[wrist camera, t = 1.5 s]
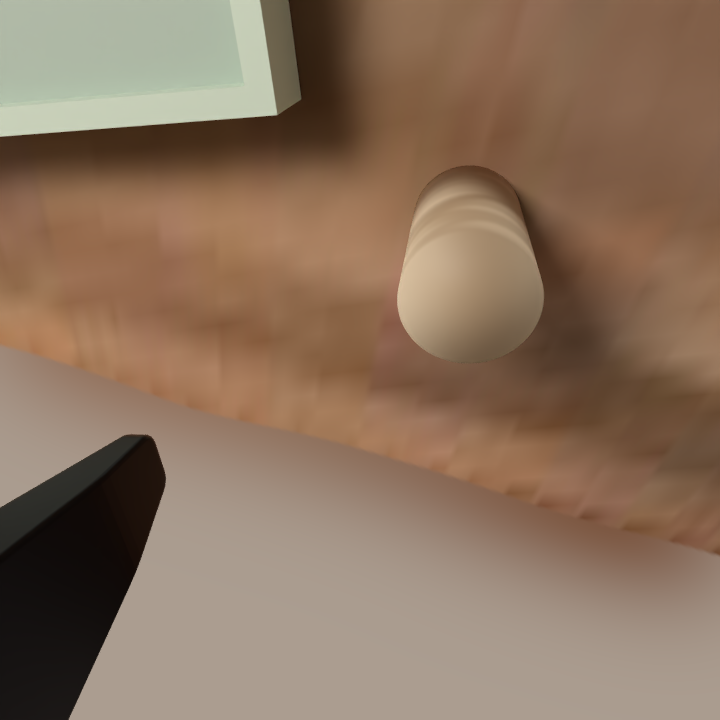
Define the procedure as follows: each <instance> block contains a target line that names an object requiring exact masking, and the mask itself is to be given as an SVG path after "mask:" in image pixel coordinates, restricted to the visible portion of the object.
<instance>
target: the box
mask: <svg viewBox="0 0 720 720" xmlns="http://www.w3.org/2000/svg"><path fill="white" fill-rule="evenodd" d="M300 100H301V92H300V84H299V77H298V69H297V61H296V54H295V46H294V38H293V31H292V23H291V16H290V8H289V0H0V137H2V136H15V135H28V134H41V133H53V132H66V131H79V130H92V129H105V128H118V127H131V126H144V125H156V124H169V123H182V122H195V121H208V120H221V119H234V118H247V117H259V116H272V115H278V114H280V113H281V112H283V111H284V110H286V109H287V108H289V107H290V106H292V105H293V104H295V103H296V102H298V101H300Z"/></svg>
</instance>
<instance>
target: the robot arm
mask: <svg viewBox="0 0 720 720" xmlns="http://www.w3.org/2000/svg"><path fill="white" fill-rule="evenodd" d="M165 483H166V476H165V471H164V468H163V465H162V462H161V459H160V456H159V453H158V450H157V447H156V444H155V441H154V439H153V438H152V437H151V436H149V435H133V434H131V435H124V436H122V437H121V438H119V439H117V440H115V441H114V442H112V443H110V444H109V445H107V446H105V447H103V448H102V449H100V450H98V451H97V452H95V453H93V454H91V455H90V456H88V457H86V458H85V459H83V460H81V461H79V462H78V463H76V464H74V465H73V466H71V467H69V468H67V469H66V470H64V471H62V472H61V473H59V474H57V475H55V476H54V477H52V478H50V479H49V480H47V481H45V482H43V483H42V484H40V485H38V486H37V487H35V488H33V489H31V490H30V491H28V492H26V493H25V494H23V495H21V496H19V497H18V498H16V499H14V500H12V501H11V502H9V503H7V504H6V505H4V506H2V507H1V508H0V720H69V717H70V715H71V713H72V711H73V709H74V707H75V704H76V702H77V700H78V698H79V696H80V693H81V691H82V689H83V687H84V684H85V683H86V680H87V678H88V676H89V674H90V672H91V669H92V667H93V665H94V663H95V661H96V659H97V656H98V654H99V652H100V650H101V648H102V645H103V643H104V641H105V639H106V637H107V635H108V632H109V630H110V628H111V626H112V623H113V621H114V619H115V617H116V615H117V613H118V610H119V608H120V606H121V604H122V602H123V600H124V597H125V595H126V593H127V591H128V589H129V586H130V584H131V582H132V580H133V577H134V575H135V573H136V570H137V568H138V565H139V562H140V560H141V557H142V554H143V551H144V548H145V545H146V542H147V539H148V536H149V533H150V530H151V527H152V524H153V521H154V518H155V515H156V512H157V509H158V506H159V503H160V500H161V497H162V495H163V492H164V488H165Z"/></svg>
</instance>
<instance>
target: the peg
mask: <svg viewBox="0 0 720 720" xmlns="http://www.w3.org/2000/svg"><path fill="white" fill-rule="evenodd" d="M543 303H544V290H543V283H542V280H541V276H540V273H539V269H538V266H537V262H536V259H535V255H534V252H533V248H532V245H531V241H530V238H529V235H528V231H527V228H526V224H525V221H524V217H523V214H522V210H521V207H520V203H519V200H518V197H517V195H516V193H515V191H514V189H513V188H512V186H511V185H510V184H509V183H508V182H507V180H506V179H504V178H503V177H502V176H501V175H499V174H498V173H496V172H494V171H492V170H490V169H487V168H484V167H479V166H460V167H456V168H452V169H449V170H447V171H445V172H443V173H441V174H439V175H438V176H437V177H435V178H434V179H433V180H432V181H431V182H429V183H428V184H427V186H426V187H425V188H424V189H423V191H422V193H421V194H420V196H419V198H418V201H417V203H416V207H415V211H414V216H413V220H412V225H411V230H410V235H409V240H408V245H407V249H406V254H405V259H404V264H403V269H402V273H401V278H400V283H399V288H398V295H397V304H398V311H399V315H400V319H401V321H402V324H403V326H404V328H405V329H406V331H407V333H408V334H409V336H410V337H411V338H412V339H413V340H414V341H415V342H416V343H417V344H418V345H419V346H420V347H421V348H423V349H424V350H425V351H427V352H428V353H430V354H432V355H434V356H436V357H439V358H441V359H444V360H447V361H451V362H457V363H481V362H487V361H490V360H494V359H497V358H499V357H502V356H504V355H506V354H508V353H509V352H511V351H513V350H514V349H516V348H517V347H518V346H520V345H521V344H522V343H523V342H524V341H525V340H526V339H527V338H528V337H529V335H530V334H531V333H532V332H533V330H534V328H535V327H536V325H537V323H538V321H539V319H540V316H541V313H542V309H543Z"/></svg>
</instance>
